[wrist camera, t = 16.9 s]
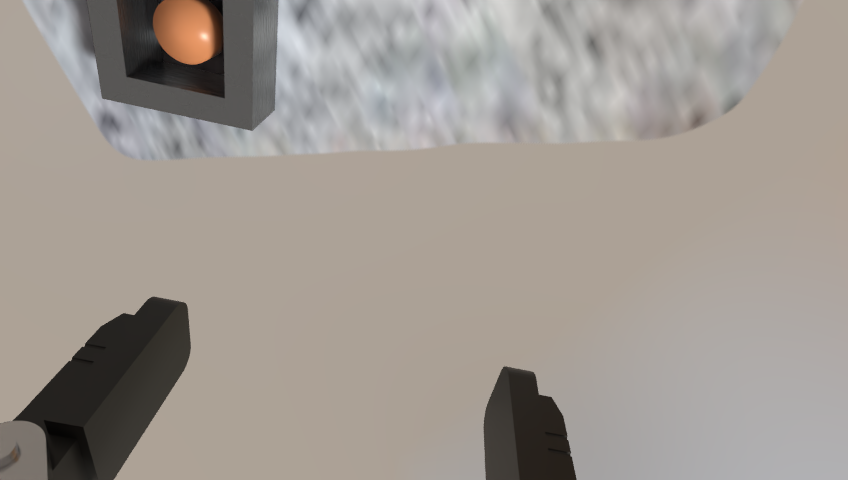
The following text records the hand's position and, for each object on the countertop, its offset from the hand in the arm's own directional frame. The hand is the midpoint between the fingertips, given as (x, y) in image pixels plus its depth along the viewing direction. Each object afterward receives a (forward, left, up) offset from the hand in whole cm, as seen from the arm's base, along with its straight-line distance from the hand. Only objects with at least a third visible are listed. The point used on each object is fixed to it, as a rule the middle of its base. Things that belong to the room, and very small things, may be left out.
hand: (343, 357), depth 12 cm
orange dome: (0, -17, -29) cm, 33 cm away
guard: (0, -17, -30) cm, 35 cm away
